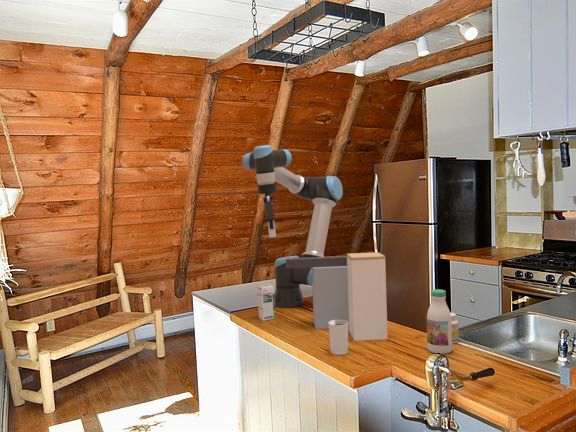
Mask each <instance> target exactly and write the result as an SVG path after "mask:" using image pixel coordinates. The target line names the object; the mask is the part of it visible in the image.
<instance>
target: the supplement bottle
mask: <svg viewBox="0 0 576 432" xmlns="http://www.w3.org/2000/svg"><path fill="white" fill-rule="evenodd" d="M450 314H451V324H452V344H457V343H458V342H459V320H457V314H456V313H454V312H450Z"/></svg>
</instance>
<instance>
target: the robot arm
mask: <svg viewBox="0 0 576 432" xmlns="http://www.w3.org/2000/svg"><path fill="white" fill-rule="evenodd" d="M292 157H293V156H292V153H291V152H290V150H288V149H283V148H280V149H273V148H272V145H269V144H267V145H266V144H265V145H258V146H255V147H254V148H253V151H251V152H248V153H245V154H244V156H243V157H242V166H243V167H244V168H245V170H248V171H253V170H254V171H255V173H256V174H255V175H256V176H255V177H254V179H256V182H257V183H256V184H258V185H257V192H258V194H259V195H264V197H263V203H264V208H265V209H266V217H267V218H266V219H265V222H267V229H268V236H269V238H274V237H275V238H276V237H277V233H276V226H275V225H276V224H275V218H274V217H276V215H275V213H274V211H273V208H274V196H272V194H274V193H276V192H277V184H276V183H278V184H279V185H282V186H283V187H285V188H286V189H288V191H289V192H290V193H292V194H293V195H295V196H297V197H299V198H302V199H303V200H304V199H305V200H307V201H312V203H313V204H314V206H313V211H312V217H311V222H310V227H309V232H308V238H307V242H306V248H305V252H302V253H301V257H299V256H298V255H290V256H284V257H279V258H276V259H275V261H274V273H275V274H274V275H275V290H274V298H275V308H287V309H288V308H290V309H291V308H296V307H301V306H303V305H304V304H305V299H304V298H305V297H304V296H303V293H302V290H301V287H300V285H305V286H311V287H312V268H288V269H286V259H287V258H311V257H325V255H324V254H325V249H326V243H327V238H328V232H329V231H328V230H329V227H330V219H331V216H332V211H333V208H334V207H335V206H336V205H337V201H340V200H341V199H342V197H343V193H344V190H343V189H344V188H343V185H342V184H343V183H342V182H341V180H340V179H339V178H338V177H337V176H336V175H335V176H334V175H331V176H330V175H325V176H312V177H311V176H310V177H309V176H308V177H306V176H302V175H301V174H295V173H293V172H291V170H288V169H287V168H285V167H288V166H289V165H291V163H292V161H293V158H292Z"/></svg>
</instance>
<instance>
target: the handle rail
mask: <svg viewBox="0 0 576 432" xmlns="http://www.w3.org/2000/svg"><path fill="white" fill-rule="evenodd" d="M336 266H347V255H341V256H339V255H337V256H324V257H311V258H301V257H299V258H287V259H286V269H288V268H312V267H336Z"/></svg>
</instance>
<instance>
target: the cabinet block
mask: <svg viewBox="0 0 576 432" xmlns="http://www.w3.org/2000/svg"><path fill="white" fill-rule="evenodd" d="M346 256H347V274H348V305H349V328H348V333H349V334H350V336H351V338H352V339H353V341H356V342H357V341H379V340H381V341H382V340H388V339H389V338H388V310H387V303H388V301H387V272H386V271H387V270H386V268H387V267H386V255H384V254H382V253H381V252H379V251H378V252H375V251H374V252H360V253H358V252H355V253H346Z"/></svg>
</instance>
